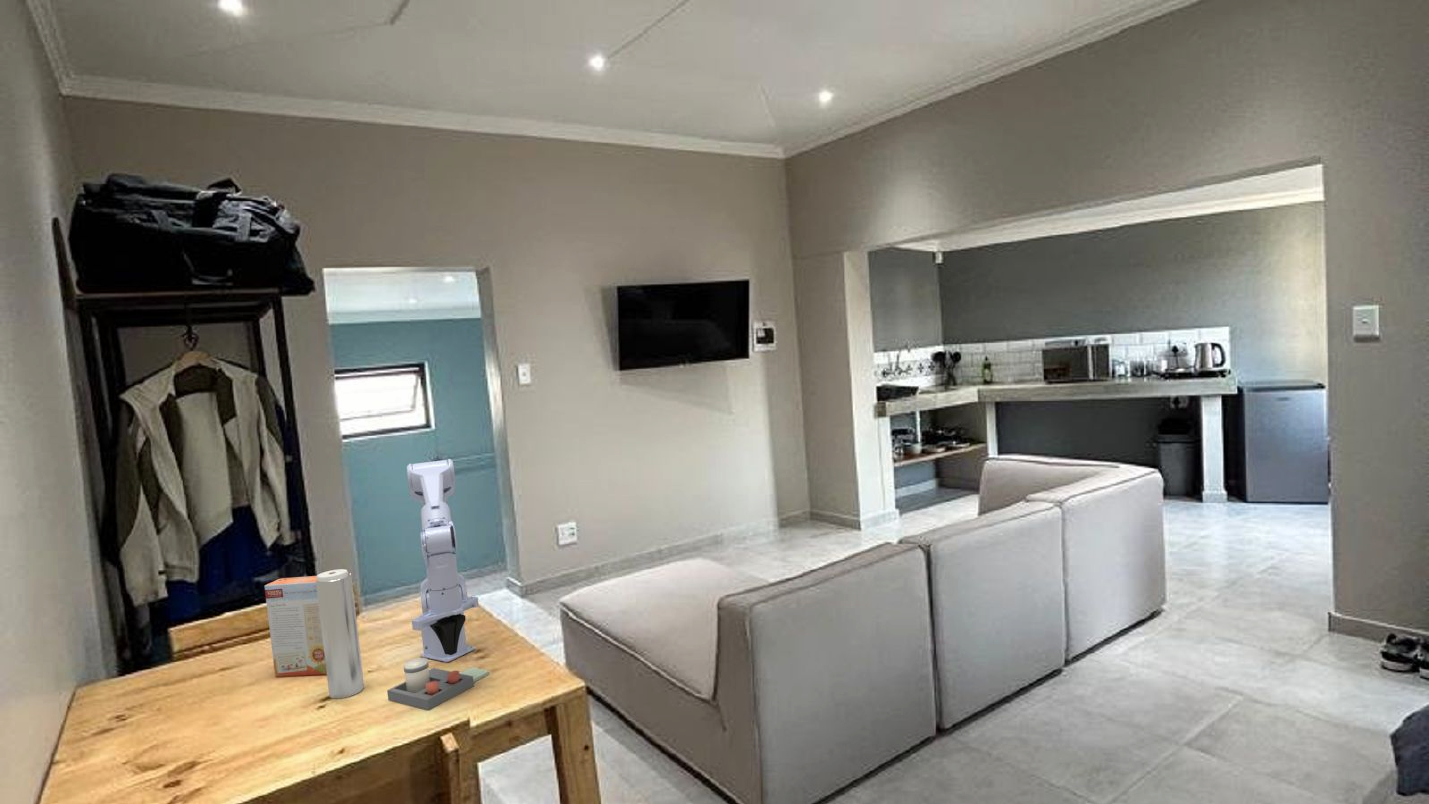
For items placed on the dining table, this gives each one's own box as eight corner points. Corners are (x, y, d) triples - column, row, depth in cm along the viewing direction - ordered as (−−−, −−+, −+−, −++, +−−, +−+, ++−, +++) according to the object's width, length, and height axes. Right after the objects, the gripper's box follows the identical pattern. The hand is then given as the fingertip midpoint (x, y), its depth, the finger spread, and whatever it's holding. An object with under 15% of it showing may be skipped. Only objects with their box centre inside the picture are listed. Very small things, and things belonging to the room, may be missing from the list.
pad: (451, 680, 154) (451, 677, 154) (471, 670, 158) (470, 667, 158) (470, 684, 151) (469, 681, 151) (489, 673, 155) (489, 671, 155)
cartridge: (401, 697, 148) (398, 665, 147) (421, 687, 152) (418, 656, 151) (416, 700, 145) (413, 668, 145) (436, 690, 149) (433, 659, 149)
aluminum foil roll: (350, 699, 149) (335, 576, 147) (321, 698, 150) (307, 577, 149) (371, 684, 155) (357, 567, 154) (344, 684, 156) (330, 568, 155)
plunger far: (445, 684, 148) (444, 674, 148) (454, 679, 150) (453, 670, 150) (453, 686, 147) (452, 676, 147) (462, 681, 149) (461, 671, 149)
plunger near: (424, 695, 144) (423, 685, 144) (434, 690, 146) (433, 680, 145) (432, 697, 143) (431, 686, 142) (441, 692, 144) (440, 682, 144)
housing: (388, 700, 147) (387, 690, 147) (434, 677, 156) (433, 668, 156) (428, 710, 140) (427, 700, 140) (473, 686, 150) (472, 676, 150)
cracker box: (349, 663, 168) (339, 573, 167) (333, 675, 162) (322, 581, 161) (292, 666, 169) (281, 576, 168) (274, 677, 163) (262, 584, 162)
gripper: (426, 599, 139) (433, 670, 140) (486, 577, 151) (492, 642, 152) (402, 596, 143) (409, 665, 143) (462, 574, 155) (469, 638, 156)
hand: (450, 653), depth 148 cm, fingers closed
